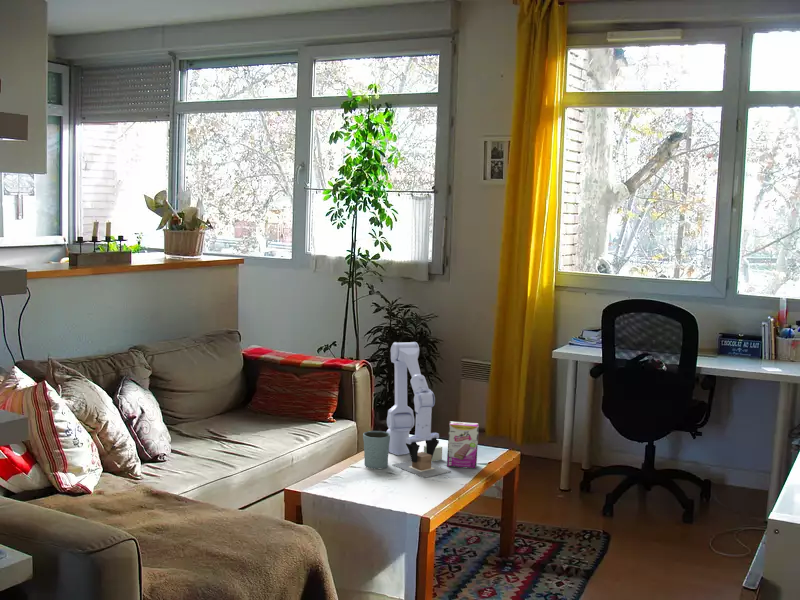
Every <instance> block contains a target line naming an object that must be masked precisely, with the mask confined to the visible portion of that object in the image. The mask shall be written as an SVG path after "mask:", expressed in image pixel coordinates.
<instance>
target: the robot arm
mask: <svg viewBox="0 0 800 600" xmlns="http://www.w3.org/2000/svg"><path fill="white" fill-rule="evenodd" d="M419 356H420V347H419V344H418V342H416V341H411V342H397V341H394V342H393V343H392V345H391V347H390V361H391V363H393V365H394V405H393V406H391V408H389V409H387V417H386V427H387V428H388V429H387V430H386V432H388V433H389V434H390V443H389V453H390V454H393V455H396V456H403V455H407V454H409V456H410V461H412V462H415V463H416V462H417V454H418V453H419V449H420V447H421V446H420V444H418V443H420V442H425V446H426V447H427V454H430V455H432V457H433V453H434V451H435V448H436V446H437V445H438V446H439V443H440V442H439V441H440V440H439V438H440V433H438V432H432V414H433V413H432V411H433V410H432V409H433V407H434V406H435V403H436V397H435V394H434V392H433V390H432V389H430V388H429V385H428V382H427V380H426V377H425V376H424V375H423V374H422V373H421V369H420V365H419V360H418V358H419ZM408 372H409V374H410V376H411V379H410V386H411V388H412V390H413V394H414V396H413V404H414V410H413V409H412V408H411V407H410V406H408ZM414 412H415V416H414ZM414 426H415V429H414V430H415V431H414V435H411V436H410V431H412V429H413V428H414ZM431 459H432V458H431Z"/></svg>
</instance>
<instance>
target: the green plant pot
mask: <svg viewBox="0 0 800 600" xmlns="http://www.w3.org/2000/svg"><path fill="white" fill-rule="evenodd" d="M362 439H363V440H362V441H363V451H364V453H363V455H364V457H363V458H364V466H366V468H367V467H368V468H367V469H371V468H373V469H372V470H379V469H378V468H383V469H386V468H387V467H388V465H389V453H390V452H389V443H390V434H389V433H388V432H387V431H385V430H384V431H382V430H369V431H365V432H363V434H362ZM385 467H386V468H385ZM374 468H375V469H374Z"/></svg>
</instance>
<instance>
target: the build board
mask: <svg viewBox="0 0 800 600" xmlns="http://www.w3.org/2000/svg"><path fill="white" fill-rule="evenodd" d="M393 465H394V466H393ZM392 466H393V467H395V466H396V468H398V467H399V468H398V469H400V468H401V470H403V471H405V470H406V471H405V472H408V473H410V472H411V473H410V474H413V475H415V474H416V476H418V477H420V476H421V478H423V479H426V478H432V477H435V476H439V474H440V475H444V474H448V473H451V472H452V471H451V470H449V469H446V468H443V467H441V466H438V465H435V464H433V463H431V468H430V469H425V470H418V469H416V468H413V467H412V461H411V460H408V461H403V462H399V463H393V464H392ZM447 472H448V473H447ZM443 473H444V474H443Z"/></svg>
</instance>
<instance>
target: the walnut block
mask: <svg viewBox="0 0 800 600" xmlns="http://www.w3.org/2000/svg"><path fill="white" fill-rule="evenodd" d="M431 458H432V455H430V454H427V453H425V452H424V451H418V454H417V462H416V463H415V462H412V467H413V468H416V469H418V470H425V469H430V468H431V464H432V461H431Z"/></svg>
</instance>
